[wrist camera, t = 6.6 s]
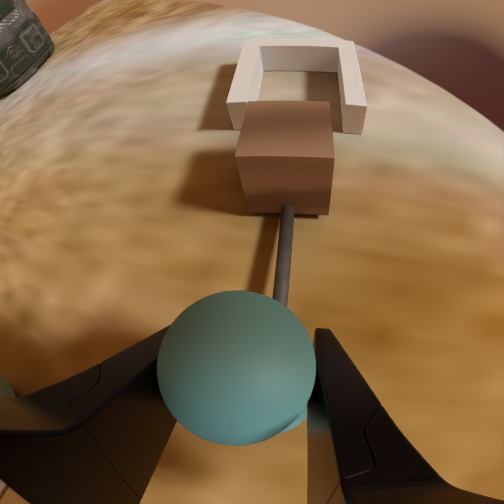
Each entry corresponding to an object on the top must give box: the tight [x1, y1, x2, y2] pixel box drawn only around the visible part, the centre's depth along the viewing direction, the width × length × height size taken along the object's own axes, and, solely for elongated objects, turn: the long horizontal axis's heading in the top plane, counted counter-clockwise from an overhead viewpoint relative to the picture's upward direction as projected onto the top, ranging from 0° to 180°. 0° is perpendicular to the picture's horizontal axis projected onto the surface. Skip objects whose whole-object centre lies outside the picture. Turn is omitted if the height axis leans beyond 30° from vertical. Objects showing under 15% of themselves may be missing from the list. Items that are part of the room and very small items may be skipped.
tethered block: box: [157, 101, 334, 446], centre depth 13 cm, size 18×5×10 cm, turn 174°
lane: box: [226, 38, 367, 134], centre depth 23 cm, size 10×10×3 cm
